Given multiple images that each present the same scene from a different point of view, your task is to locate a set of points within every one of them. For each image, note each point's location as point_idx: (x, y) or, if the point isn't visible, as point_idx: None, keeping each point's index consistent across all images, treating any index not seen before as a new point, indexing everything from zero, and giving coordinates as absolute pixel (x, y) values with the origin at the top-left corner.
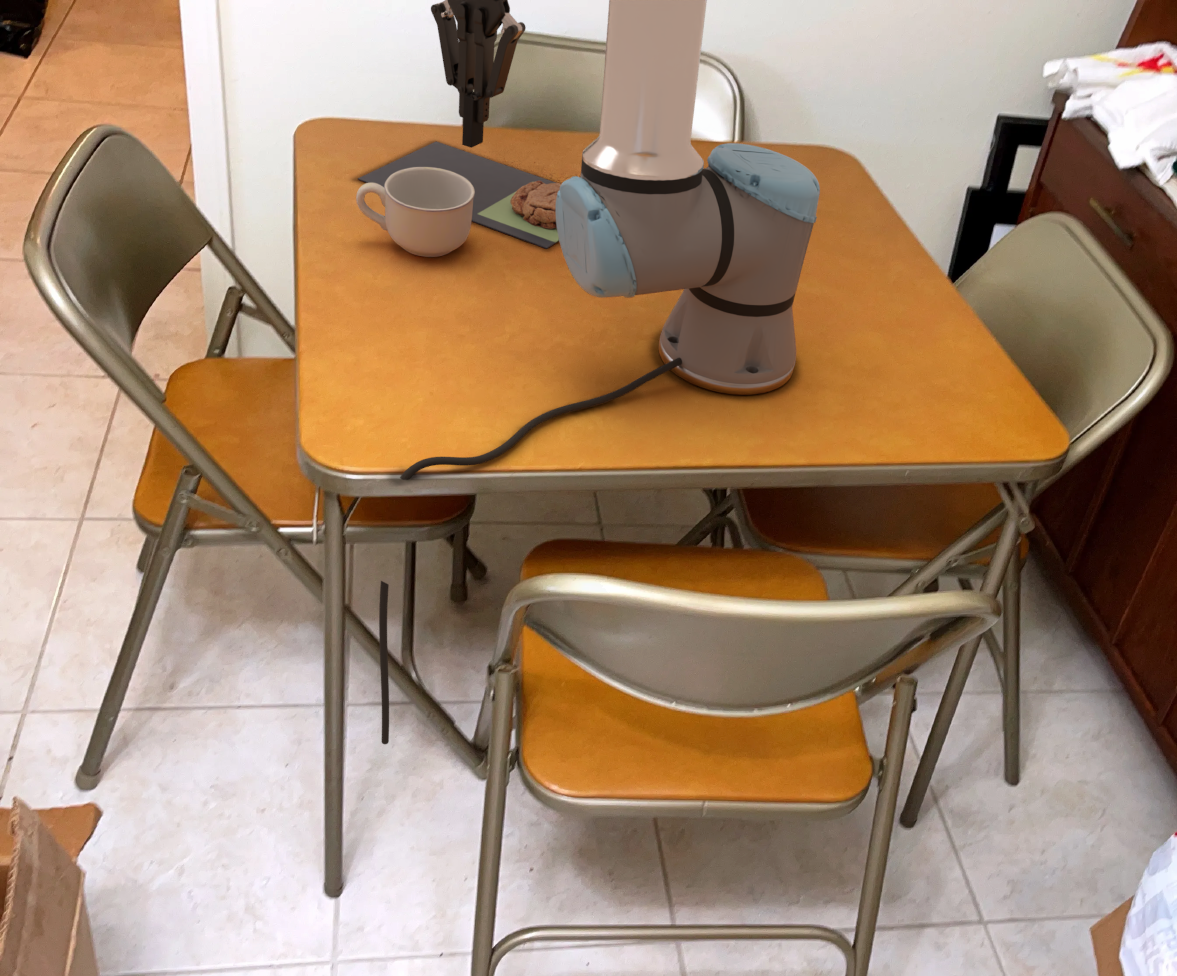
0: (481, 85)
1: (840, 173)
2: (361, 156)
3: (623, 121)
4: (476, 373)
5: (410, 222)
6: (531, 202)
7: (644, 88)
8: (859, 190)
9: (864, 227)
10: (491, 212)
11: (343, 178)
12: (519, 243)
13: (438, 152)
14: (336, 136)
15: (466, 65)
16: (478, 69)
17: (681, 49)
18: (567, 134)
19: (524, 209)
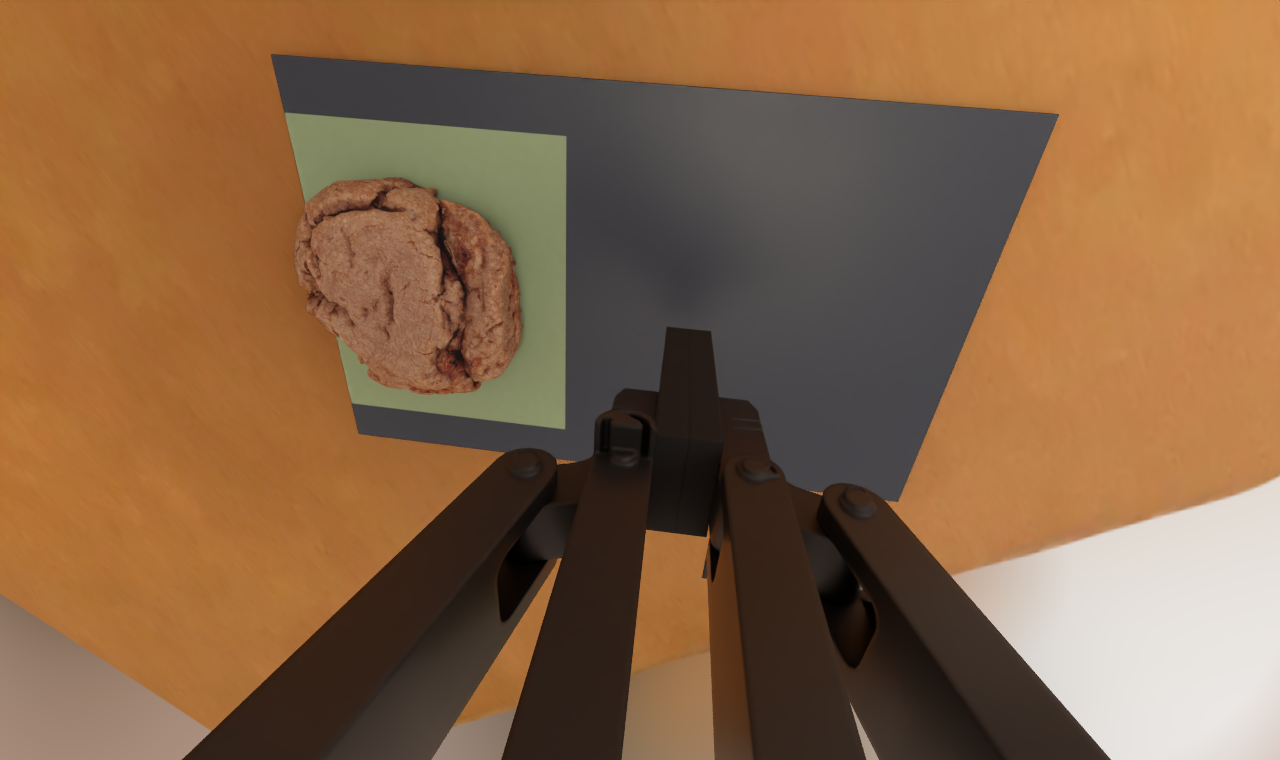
0: (587, 497)
1: (217, 717)
2: (1095, 302)
3: None
4: None
5: None
6: (398, 216)
7: None
8: (155, 683)
9: (38, 581)
10: (539, 179)
11: (1117, 90)
12: (354, 34)
13: (864, 448)
14: (1225, 386)
15: (736, 616)
16: (600, 592)
17: None
18: (642, 663)
19: (424, 199)
